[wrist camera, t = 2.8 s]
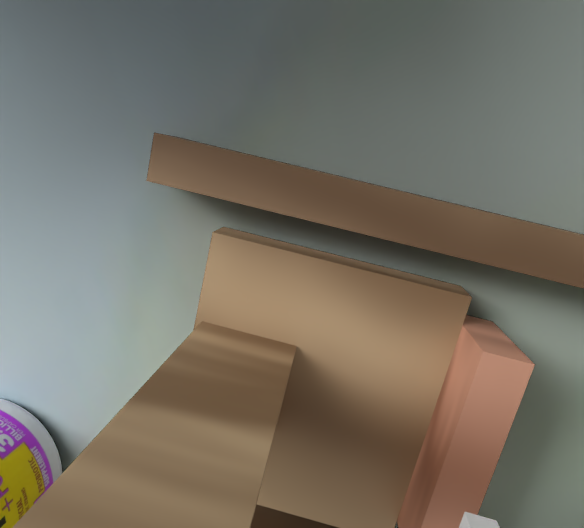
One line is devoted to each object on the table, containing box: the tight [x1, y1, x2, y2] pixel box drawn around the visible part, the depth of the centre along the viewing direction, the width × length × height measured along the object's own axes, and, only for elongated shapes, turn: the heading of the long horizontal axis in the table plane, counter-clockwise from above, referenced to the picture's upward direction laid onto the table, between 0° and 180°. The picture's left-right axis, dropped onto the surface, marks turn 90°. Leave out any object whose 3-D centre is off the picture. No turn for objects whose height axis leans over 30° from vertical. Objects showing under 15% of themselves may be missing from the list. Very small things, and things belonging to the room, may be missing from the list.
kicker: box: [12, 227, 535, 528], centre depth 12 cm, size 10×10×13 cm
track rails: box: [147, 133, 584, 528], centre depth 17 cm, size 16×26×2 cm, turn 77°
